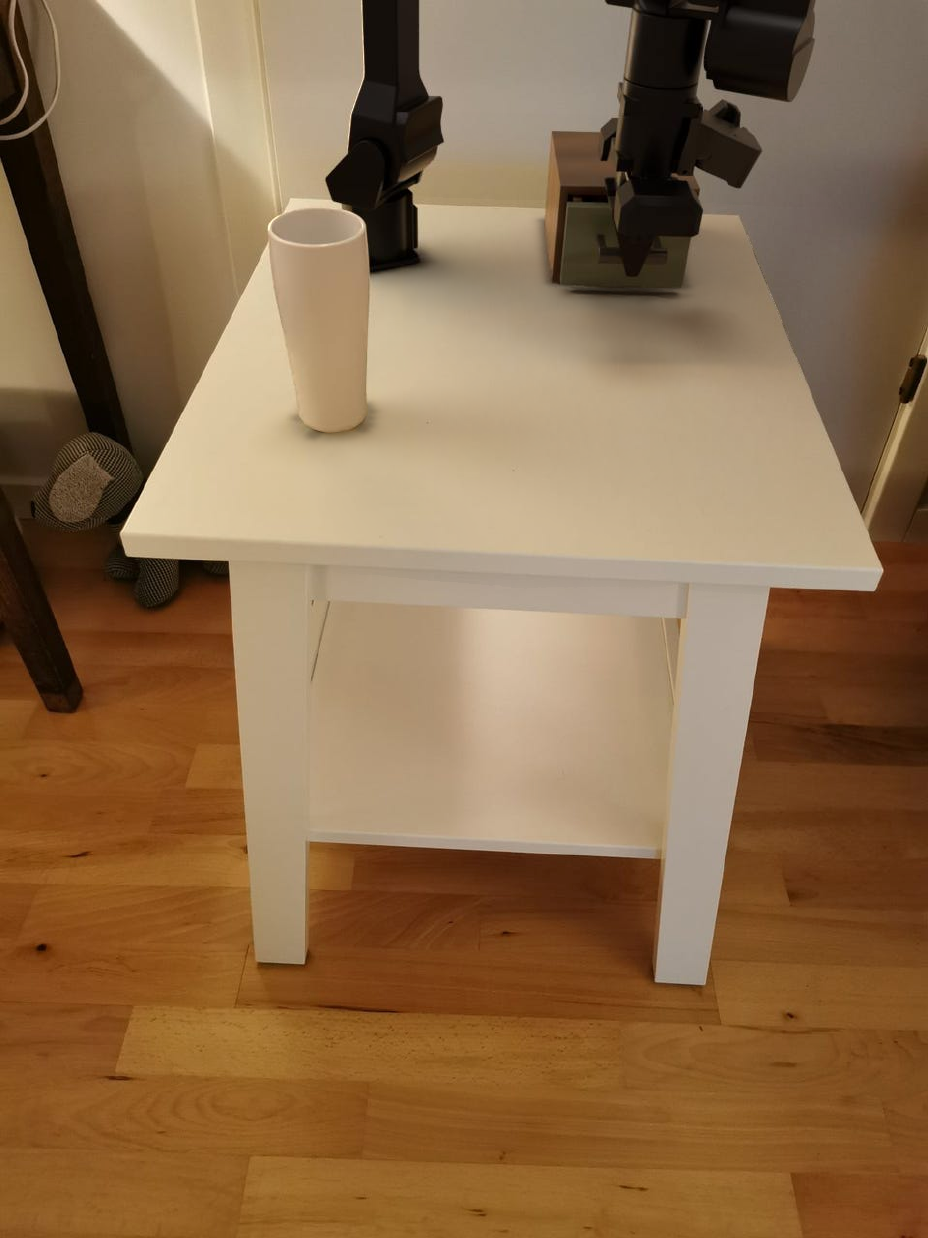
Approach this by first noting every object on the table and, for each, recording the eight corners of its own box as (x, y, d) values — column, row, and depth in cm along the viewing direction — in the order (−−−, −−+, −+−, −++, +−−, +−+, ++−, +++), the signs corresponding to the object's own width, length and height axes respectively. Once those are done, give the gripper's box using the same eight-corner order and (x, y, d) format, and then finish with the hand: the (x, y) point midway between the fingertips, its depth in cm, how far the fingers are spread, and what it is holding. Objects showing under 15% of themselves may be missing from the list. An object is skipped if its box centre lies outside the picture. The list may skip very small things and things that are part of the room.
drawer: (688, 309, 88) (704, 229, 83) (563, 306, 88) (571, 226, 83) (662, 229, 101) (674, 155, 96) (552, 226, 101) (558, 152, 96)
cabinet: (682, 285, 94) (700, 188, 87) (551, 282, 94) (560, 185, 87) (661, 224, 104) (676, 133, 98) (544, 221, 104) (551, 130, 98)
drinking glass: (363, 446, 73) (351, 251, 63) (277, 434, 74) (251, 240, 64) (386, 399, 78) (378, 210, 67) (305, 389, 79) (285, 201, 68)
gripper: (794, 121, 67) (743, 329, 78) (742, 47, 81) (705, 233, 92) (634, 116, 67) (605, 325, 78) (609, 43, 81) (588, 230, 92)
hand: (631, 275), depth 85 cm, fingers closed
